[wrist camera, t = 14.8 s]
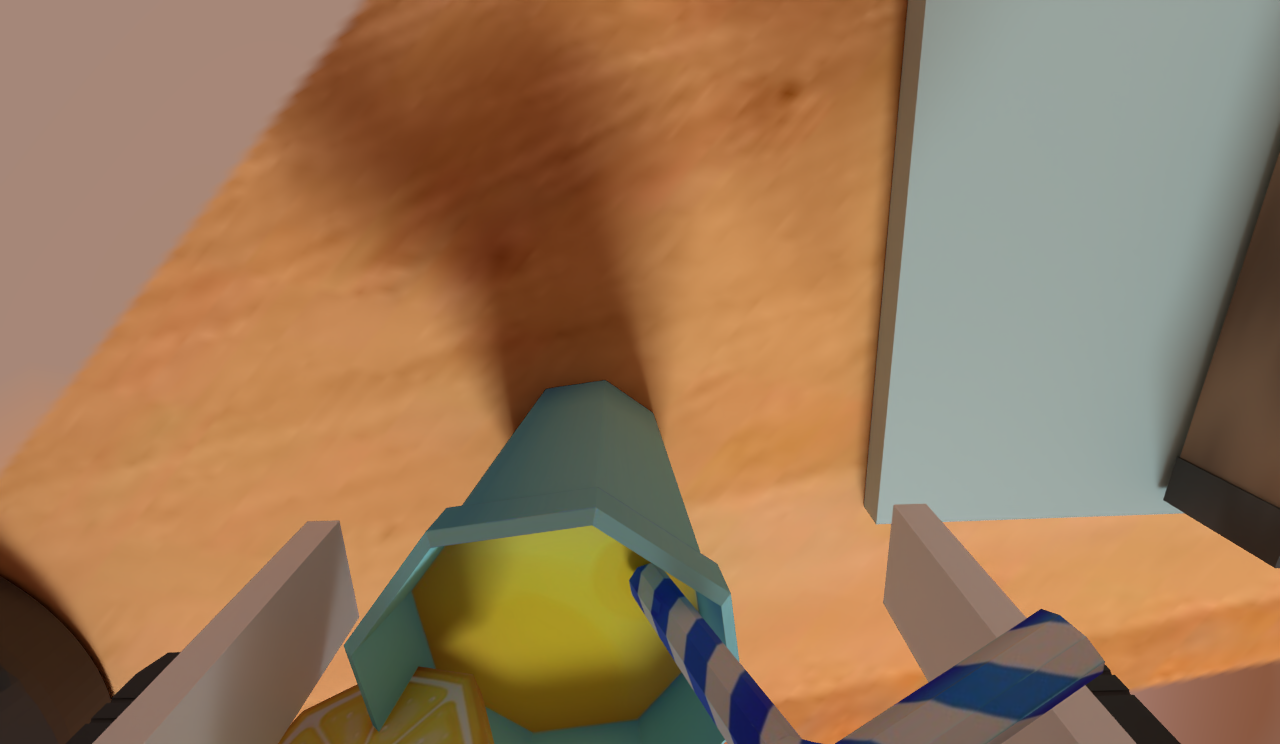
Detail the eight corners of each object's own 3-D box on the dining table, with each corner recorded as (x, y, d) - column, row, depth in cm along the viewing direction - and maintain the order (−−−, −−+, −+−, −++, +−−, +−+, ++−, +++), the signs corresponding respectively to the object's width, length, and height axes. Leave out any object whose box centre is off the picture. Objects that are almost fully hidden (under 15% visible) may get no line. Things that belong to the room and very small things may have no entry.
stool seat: (863, 506, 22) (925, 592, 18) (921, -158, 16) (1037, -291, 12) (1312, 490, 22) (1490, 572, 18) (1535, -178, 16) (1893, -319, 12)
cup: (732, 235, 19) (1012, 397, 5) (837, 429, 22) (1246, 928, 7) (381, 446, 21) (-116, 981, 7) (508, 604, 24) (317, 1266, 9)
